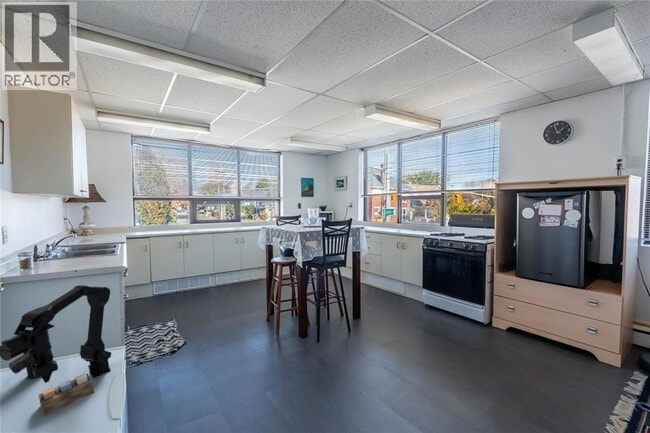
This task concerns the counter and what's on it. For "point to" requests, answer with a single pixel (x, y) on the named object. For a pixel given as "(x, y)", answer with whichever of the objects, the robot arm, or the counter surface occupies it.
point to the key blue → (65, 386)
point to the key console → (66, 396)
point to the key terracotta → (48, 393)
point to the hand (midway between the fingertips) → (46, 381)
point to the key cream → (81, 379)
